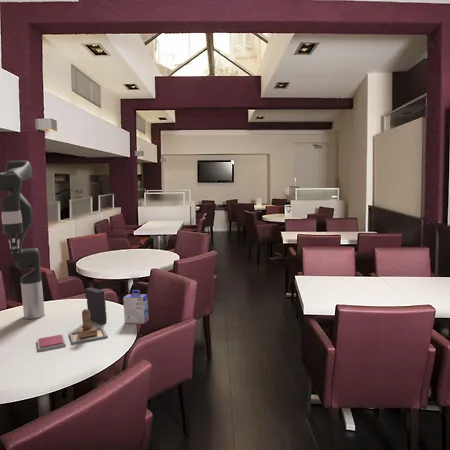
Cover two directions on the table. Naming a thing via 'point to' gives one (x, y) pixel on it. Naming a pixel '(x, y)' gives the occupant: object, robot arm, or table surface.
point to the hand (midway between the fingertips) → (16, 260)
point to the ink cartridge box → (136, 308)
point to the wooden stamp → (87, 326)
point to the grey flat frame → (100, 335)
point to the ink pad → (51, 342)
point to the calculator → (96, 305)
